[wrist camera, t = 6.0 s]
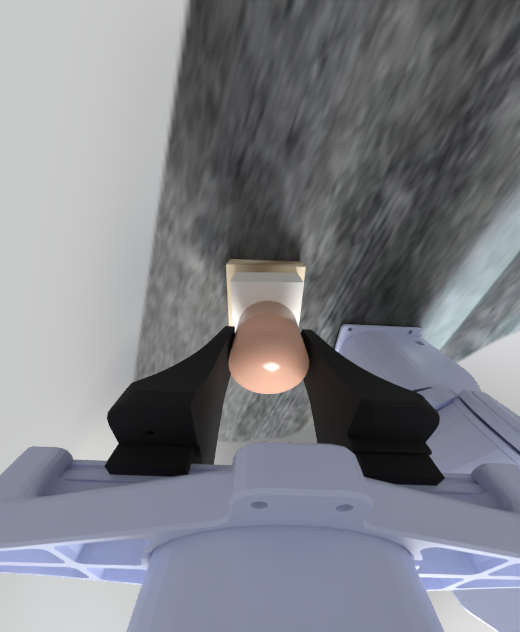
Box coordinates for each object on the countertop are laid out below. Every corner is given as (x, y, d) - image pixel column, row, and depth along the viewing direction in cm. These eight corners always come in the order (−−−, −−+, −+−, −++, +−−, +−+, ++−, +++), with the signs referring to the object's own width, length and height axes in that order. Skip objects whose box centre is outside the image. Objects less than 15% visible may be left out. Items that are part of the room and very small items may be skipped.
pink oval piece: (302, 303, 13) (317, 335, 9) (292, 353, 15) (301, 396, 11) (238, 298, 13) (228, 328, 9) (237, 349, 15) (228, 391, 11)
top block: (297, 272, 16) (303, 282, 14) (291, 326, 19) (296, 343, 16) (235, 272, 16) (229, 281, 14) (238, 325, 19) (234, 342, 16)
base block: (299, 260, 19) (305, 267, 16) (291, 320, 22) (296, 334, 19) (231, 258, 19) (226, 264, 16) (233, 318, 22) (229, 332, 19)
